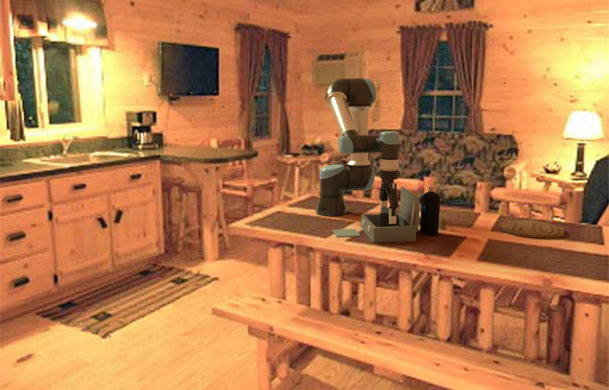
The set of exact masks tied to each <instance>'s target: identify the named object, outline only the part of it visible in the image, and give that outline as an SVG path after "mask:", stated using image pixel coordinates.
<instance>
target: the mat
mask: <svg viewBox="0 0 609 390" xmlns="http://www.w3.org/2000/svg"><path fill="white" fill-rule="evenodd" d="M332 233H333V235H334V236H335V237H336V238H351V237H353V238H354V237H361V234H360V233H359V232H358V231H357V229H356V228H345V229H342V228H341V229H332Z"/></svg>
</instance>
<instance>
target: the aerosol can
mask: <svg viewBox="0 0 609 390" xmlns="http://www.w3.org/2000/svg"><path fill="white" fill-rule="evenodd" d="M434 188H435V187H434V186H430V185H429V187H428V191H426V192H423V194H421V195H420V199H421V200H420V202H421V203H420V218H419V230H418V233H419V234H421V235H422V236H430V237H431V236H432V237H433V236H434V237H435V236H437V235H440V229H439V228H440V213H441V212H440V211H441V198H442V196H440V194H439V193H438V192H435V191H434Z"/></svg>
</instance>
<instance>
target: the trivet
mask: <svg viewBox="0 0 609 390" xmlns="http://www.w3.org/2000/svg"><path fill="white" fill-rule="evenodd" d="M500 229H501V231H503V232H504V233H506V234H508V235H511V236H515V237H519V238H525V239H526V238H527V239H533V240H554V239H555V240H557V239H559V238H563V237H564V236H565V229H564V228H563V226H560V225H557V224H554V223H550V222H545V221H541V220H540V221H539V220H530V219H514V220H511V219H510V220H506V221H503V222H501V224H500Z"/></svg>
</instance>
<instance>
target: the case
mask: <svg viewBox="0 0 609 390" xmlns="http://www.w3.org/2000/svg"><path fill="white" fill-rule="evenodd" d="M420 199H421V196H419V195H417V193H416V194H415V193H414V192H413V191H410V190H409V189H408V188H406V187H405V186H400V202H399V203H400V204H399V206H400V207H399V212H396V224H395V226H394V227H379V225H380V224H379V223H380V213H362V214H361V215H360V229H361V230H362V231H364V233H365V234H366V235H367V237H368V238H369V239H370V240H371V241H372V243H375V244H376V243H396V242H397V243H399V242H416V240H417V232H419V229H420V207H421V203H420V202H421V200H420Z"/></svg>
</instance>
